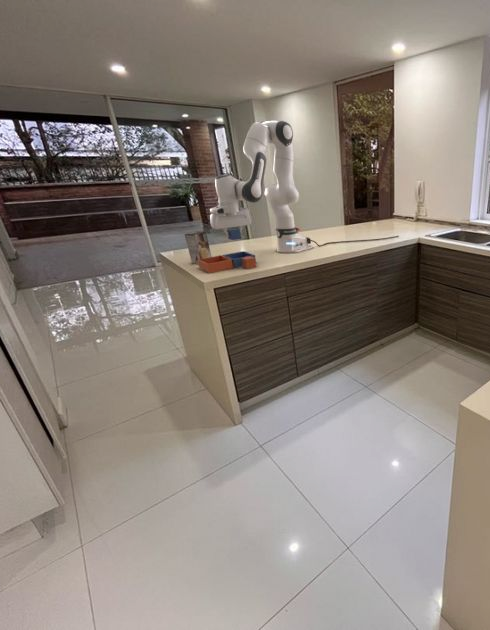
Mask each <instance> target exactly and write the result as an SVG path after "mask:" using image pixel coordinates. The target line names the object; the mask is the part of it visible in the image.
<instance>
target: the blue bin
mask: <svg viewBox="0 0 490 630" xmlns="http://www.w3.org/2000/svg"><path fill="white" fill-rule="evenodd" d="M221 256H224V257H226V258H229V259H231V260H232V264H233V269H235V268H240V267H243V264H242V258H244V257H249V256H251V257H254V258H255V262H256V263H257V259H256V255H255V254H254V253H250V252H247V251H244V250H243V251H236V252H231V253H225V254H222V255H221Z"/></svg>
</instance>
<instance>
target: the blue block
mask: <svg viewBox="0 0 490 630" xmlns="http://www.w3.org/2000/svg"><path fill="white" fill-rule="evenodd" d="M226 231H227V232H228V233H230V236H229V237H227V240H230V241H236V240H242V235H241V233H240V228H237V227H232V228H227V230H226Z"/></svg>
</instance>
